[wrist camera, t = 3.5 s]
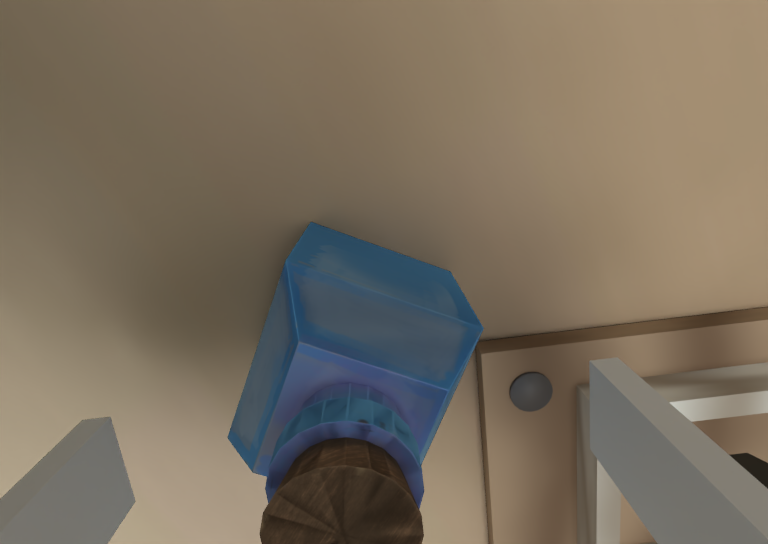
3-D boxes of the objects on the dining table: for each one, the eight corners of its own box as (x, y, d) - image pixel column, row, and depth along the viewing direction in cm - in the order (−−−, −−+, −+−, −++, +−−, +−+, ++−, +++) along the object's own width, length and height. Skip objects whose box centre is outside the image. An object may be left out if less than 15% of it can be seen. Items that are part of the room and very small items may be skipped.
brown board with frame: (491, 586, 25) (509, 649, 22) (475, 341, 21) (493, 377, 18) (834, 546, 25) (899, 603, 22) (880, 293, 21) (967, 320, 18)
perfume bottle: (398, 394, 22) (430, 681, 10) (267, 352, 21) (146, 612, 10) (450, 271, 20) (555, 450, 9) (310, 221, 20) (228, 346, 8)
